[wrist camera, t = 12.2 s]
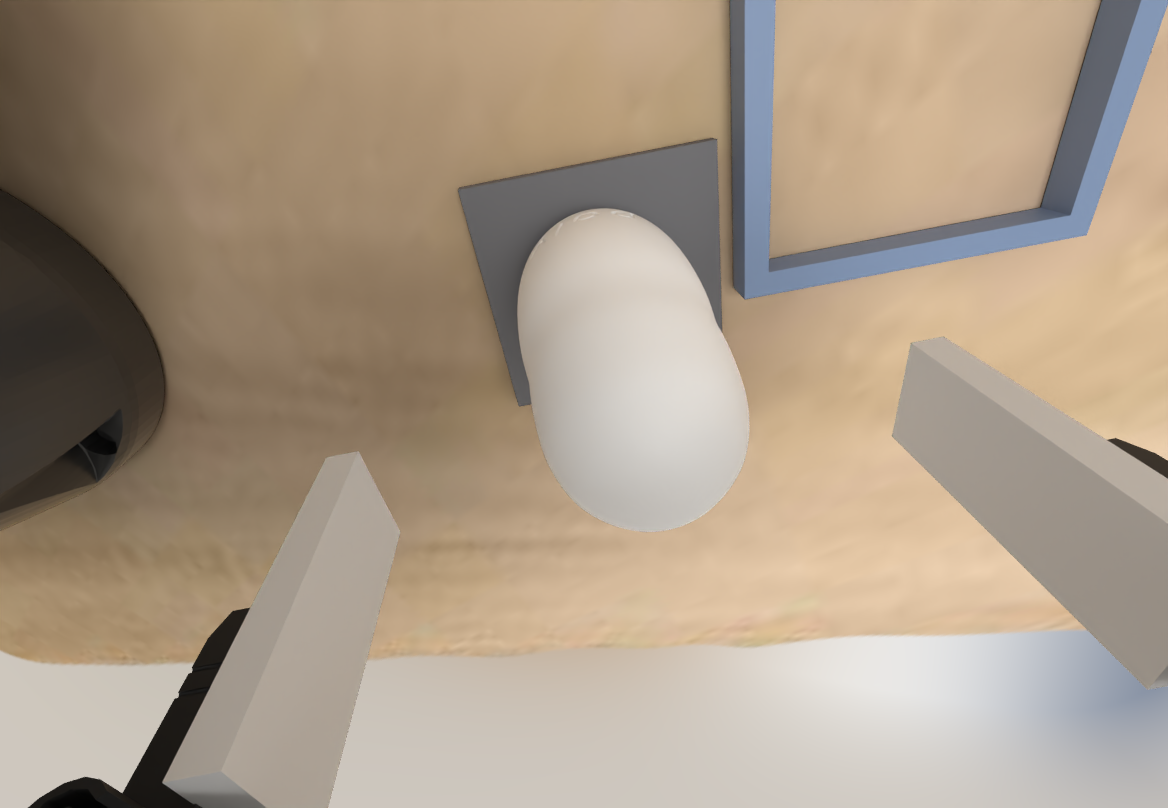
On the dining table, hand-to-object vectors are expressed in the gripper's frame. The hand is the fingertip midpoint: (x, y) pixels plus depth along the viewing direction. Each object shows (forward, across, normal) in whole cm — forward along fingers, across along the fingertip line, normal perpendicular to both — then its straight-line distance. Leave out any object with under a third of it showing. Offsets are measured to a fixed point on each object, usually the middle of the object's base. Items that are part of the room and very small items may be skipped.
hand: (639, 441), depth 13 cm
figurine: (+12, 0, 0) cm, 12 cm away
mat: (+12, +1, 0) cm, 12 cm away
